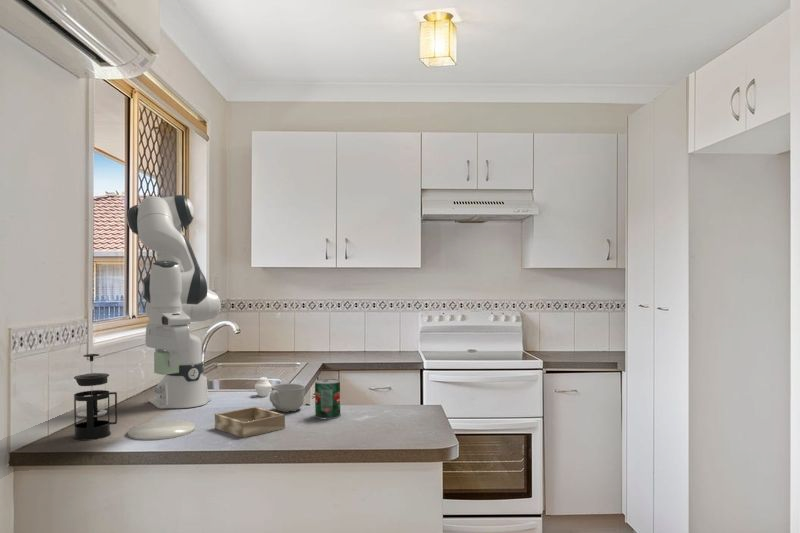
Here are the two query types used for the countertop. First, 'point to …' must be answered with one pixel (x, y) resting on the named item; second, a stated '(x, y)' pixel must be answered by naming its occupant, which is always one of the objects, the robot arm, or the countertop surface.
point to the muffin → (263, 387)
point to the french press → (93, 406)
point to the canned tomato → (327, 398)
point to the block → (164, 363)
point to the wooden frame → (241, 427)
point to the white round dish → (161, 430)
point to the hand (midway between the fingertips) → (166, 365)
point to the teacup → (287, 396)
